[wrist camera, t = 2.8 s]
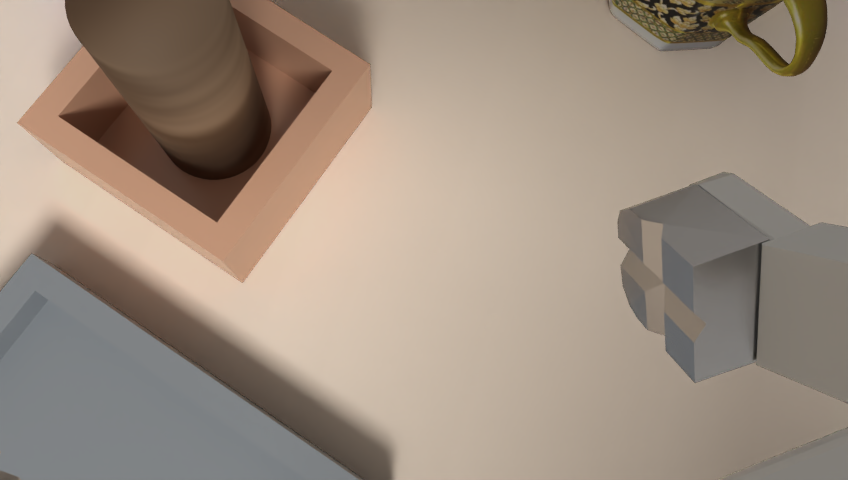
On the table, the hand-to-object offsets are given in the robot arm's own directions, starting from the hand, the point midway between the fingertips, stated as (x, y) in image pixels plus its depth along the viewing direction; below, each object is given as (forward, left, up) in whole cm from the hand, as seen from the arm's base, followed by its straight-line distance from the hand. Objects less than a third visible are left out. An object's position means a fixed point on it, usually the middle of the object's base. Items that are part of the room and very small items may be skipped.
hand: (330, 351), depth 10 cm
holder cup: (+11, -6, -21) cm, 25 cm away
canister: (+11, -6, -21) cm, 24 cm away
